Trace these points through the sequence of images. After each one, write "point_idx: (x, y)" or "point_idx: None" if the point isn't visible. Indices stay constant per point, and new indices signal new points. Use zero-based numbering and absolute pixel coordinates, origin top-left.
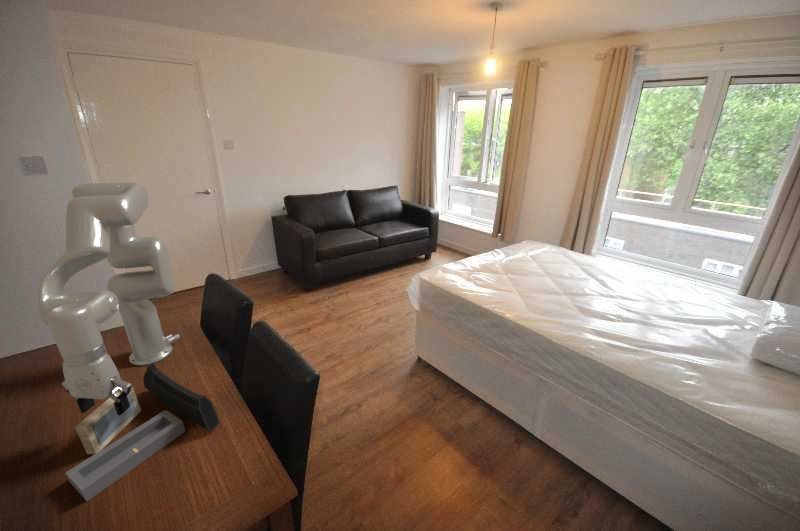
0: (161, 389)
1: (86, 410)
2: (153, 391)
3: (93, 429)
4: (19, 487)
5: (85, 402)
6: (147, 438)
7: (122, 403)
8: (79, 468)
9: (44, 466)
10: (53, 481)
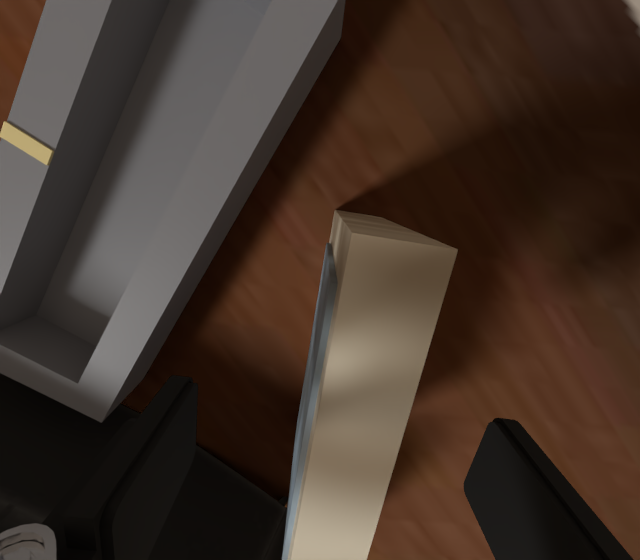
0: (150, 557)
1: (488, 437)
2: (268, 528)
3: (333, 271)
4: (583, 33)
5: (529, 525)
6: (129, 272)
7: (67, 498)
8: (279, 16)
9: (536, 156)
10: (437, 59)
